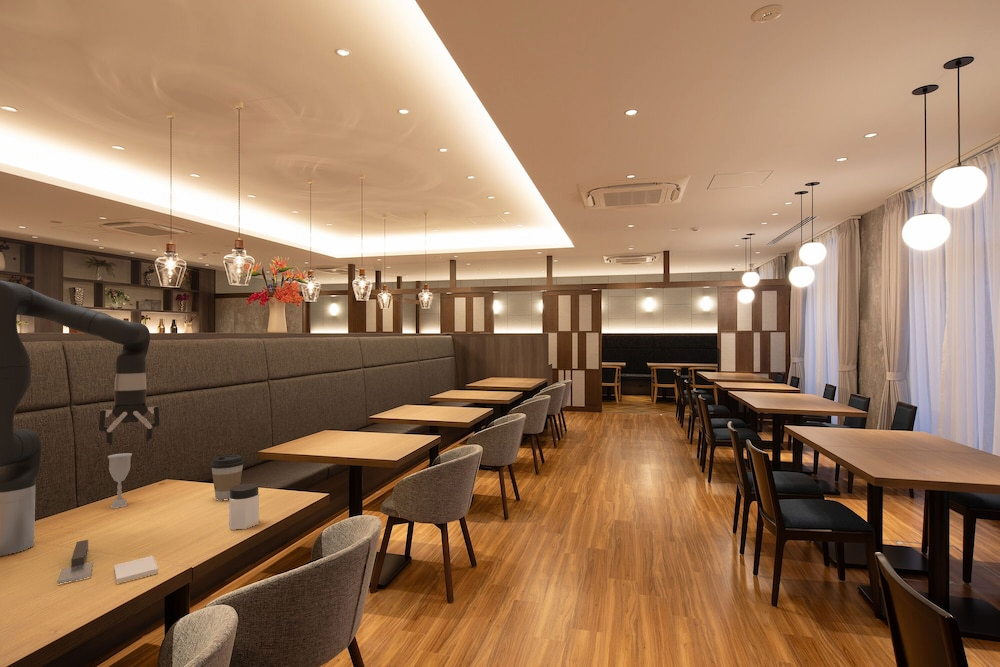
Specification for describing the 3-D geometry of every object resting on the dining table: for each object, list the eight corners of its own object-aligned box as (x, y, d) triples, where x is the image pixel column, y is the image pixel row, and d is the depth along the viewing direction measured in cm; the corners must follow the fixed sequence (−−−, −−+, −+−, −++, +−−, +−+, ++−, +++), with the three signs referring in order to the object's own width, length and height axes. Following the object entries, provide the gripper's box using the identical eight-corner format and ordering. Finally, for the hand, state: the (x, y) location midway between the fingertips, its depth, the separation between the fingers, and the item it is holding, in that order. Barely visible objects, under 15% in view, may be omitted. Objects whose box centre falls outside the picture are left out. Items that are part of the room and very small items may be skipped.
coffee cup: (210, 496, 181) (211, 456, 181) (244, 491, 186) (245, 453, 186) (208, 504, 171) (208, 462, 171) (244, 499, 176) (244, 459, 176)
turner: (90, 578, 116) (90, 566, 116) (57, 586, 113) (57, 573, 113) (96, 548, 134) (96, 537, 134) (67, 554, 130) (68, 543, 130)
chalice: (101, 508, 168) (102, 456, 168) (121, 502, 174) (122, 452, 175) (116, 509, 166) (117, 458, 166) (136, 503, 172) (137, 453, 173)
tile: (114, 572, 120) (116, 586, 113) (114, 565, 120) (116, 579, 113) (153, 562, 126) (157, 575, 118) (153, 555, 126) (157, 568, 118)
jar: (263, 519, 155) (264, 482, 156) (253, 529, 147) (253, 490, 147) (235, 521, 154) (235, 483, 155) (222, 530, 146) (223, 491, 147)
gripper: (98, 390, 135) (97, 448, 134) (160, 387, 144) (159, 441, 143) (100, 389, 141) (99, 444, 140) (159, 386, 150) (158, 438, 149)
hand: (129, 442), depth 142 cm, fingers open, 8 cm apart
